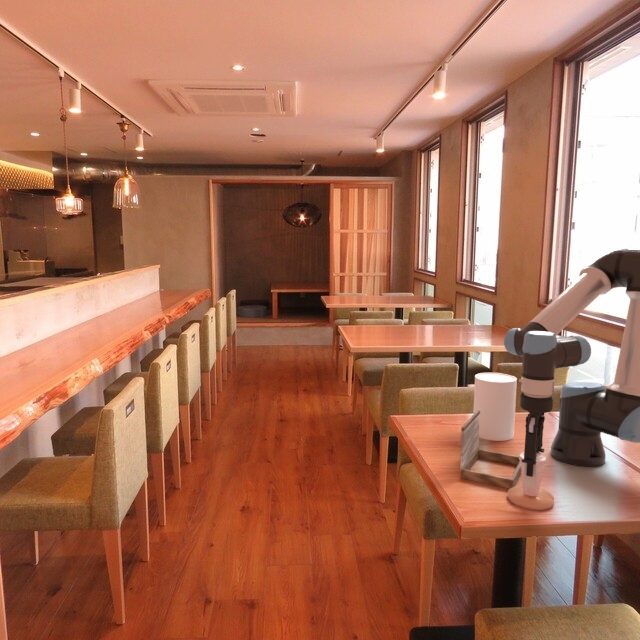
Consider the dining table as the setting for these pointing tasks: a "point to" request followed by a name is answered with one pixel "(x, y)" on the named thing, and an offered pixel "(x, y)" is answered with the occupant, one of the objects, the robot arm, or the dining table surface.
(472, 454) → the box
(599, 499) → the dining table surface
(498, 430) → the canister
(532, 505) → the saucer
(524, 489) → the smoothie
